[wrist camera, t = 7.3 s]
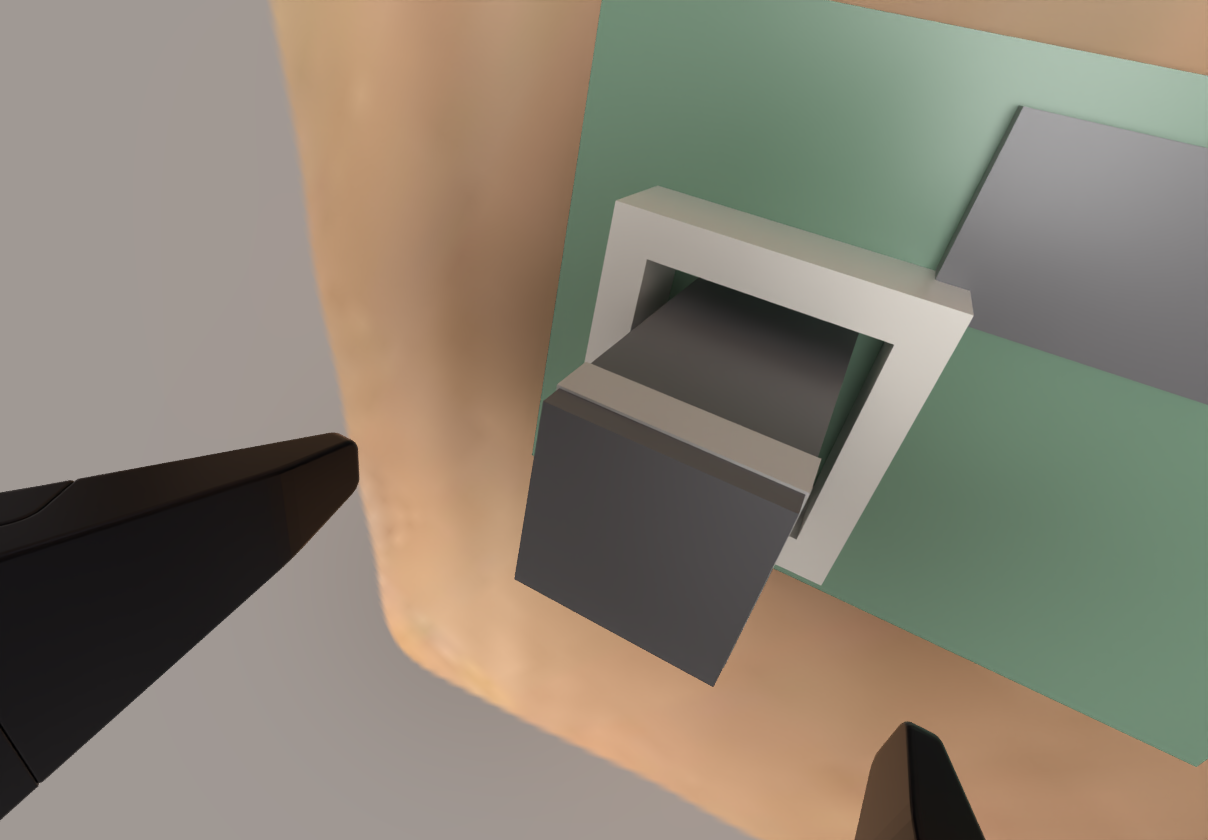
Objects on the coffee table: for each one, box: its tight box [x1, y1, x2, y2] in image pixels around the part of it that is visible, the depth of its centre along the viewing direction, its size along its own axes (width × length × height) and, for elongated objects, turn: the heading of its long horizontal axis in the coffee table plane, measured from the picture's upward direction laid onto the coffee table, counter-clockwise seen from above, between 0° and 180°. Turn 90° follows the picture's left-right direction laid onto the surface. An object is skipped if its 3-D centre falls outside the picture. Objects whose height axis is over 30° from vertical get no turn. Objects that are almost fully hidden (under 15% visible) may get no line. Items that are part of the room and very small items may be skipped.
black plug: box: [515, 277, 859, 687], centre depth 13 cm, size 4×4×8 cm
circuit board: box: [532, 0, 1208, 767], centre depth 14 cm, size 20×14×4 cm
